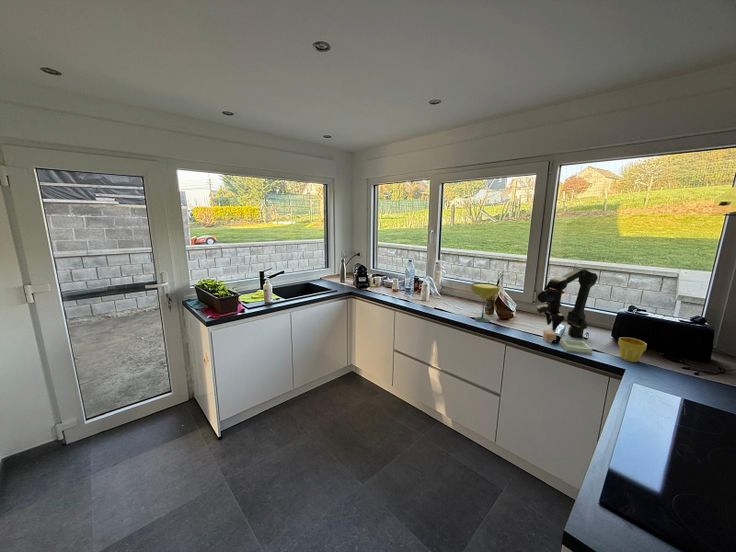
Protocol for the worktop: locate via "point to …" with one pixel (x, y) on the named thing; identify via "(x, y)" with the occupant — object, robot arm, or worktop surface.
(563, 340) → the sage tray
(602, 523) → the worktop surface
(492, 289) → the cocktail glass
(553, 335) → the terracotta block
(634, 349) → the plant pot
